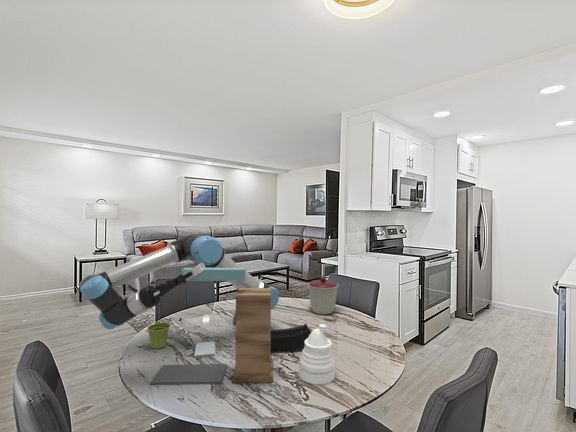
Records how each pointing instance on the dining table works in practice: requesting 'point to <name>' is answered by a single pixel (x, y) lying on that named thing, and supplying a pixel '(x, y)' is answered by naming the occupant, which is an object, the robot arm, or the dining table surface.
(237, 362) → the stand
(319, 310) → the canister
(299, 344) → the magazine
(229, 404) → the dining table surface
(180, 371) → the pad
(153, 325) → the plant pot
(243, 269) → the teal square bar
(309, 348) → the honey pot
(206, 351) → the hard drive
